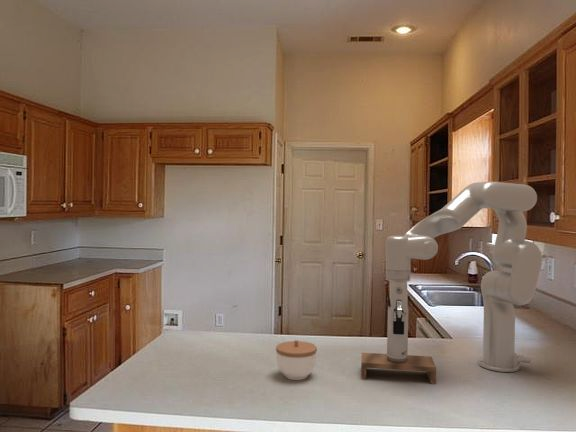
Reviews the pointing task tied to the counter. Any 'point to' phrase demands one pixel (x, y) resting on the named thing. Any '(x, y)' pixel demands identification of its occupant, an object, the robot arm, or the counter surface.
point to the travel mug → (397, 338)
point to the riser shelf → (399, 364)
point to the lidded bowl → (296, 359)
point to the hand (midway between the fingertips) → (397, 329)
